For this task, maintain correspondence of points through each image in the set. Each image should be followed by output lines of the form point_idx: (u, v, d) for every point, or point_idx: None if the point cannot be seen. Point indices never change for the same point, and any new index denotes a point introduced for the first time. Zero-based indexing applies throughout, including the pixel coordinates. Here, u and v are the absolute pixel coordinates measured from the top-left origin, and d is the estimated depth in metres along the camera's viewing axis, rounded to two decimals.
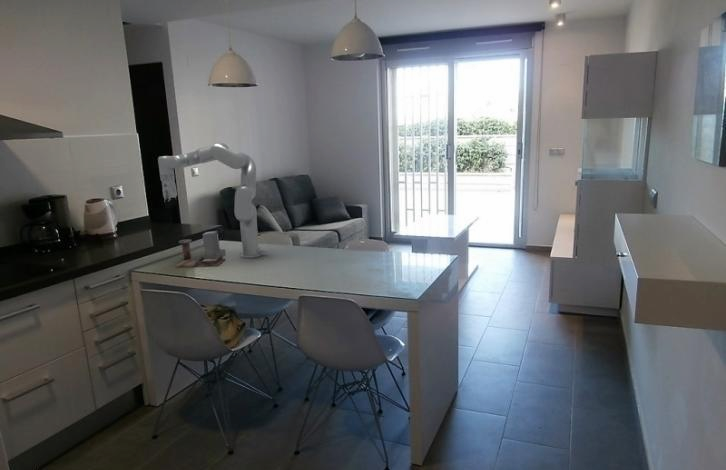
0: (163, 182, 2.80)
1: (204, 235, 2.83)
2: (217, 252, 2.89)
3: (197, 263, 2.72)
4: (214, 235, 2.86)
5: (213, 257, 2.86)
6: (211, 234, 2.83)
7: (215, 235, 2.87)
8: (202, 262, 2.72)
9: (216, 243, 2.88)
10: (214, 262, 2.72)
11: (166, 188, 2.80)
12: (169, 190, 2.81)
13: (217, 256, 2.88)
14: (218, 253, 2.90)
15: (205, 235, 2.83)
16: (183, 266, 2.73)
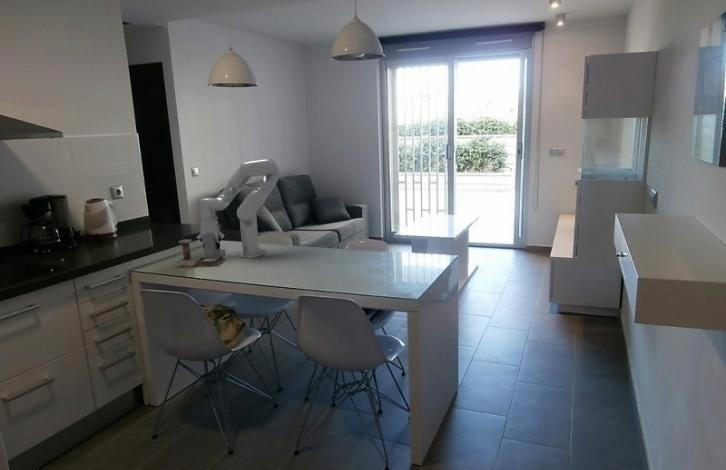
0: (215, 222, 2.85)
1: (204, 235, 2.83)
2: (217, 252, 2.89)
3: (197, 263, 2.72)
4: None
5: (213, 257, 2.86)
6: (211, 234, 2.83)
7: None
8: (202, 262, 2.72)
9: None
10: (214, 262, 2.72)
11: (218, 228, 2.87)
12: None
13: (217, 256, 2.88)
14: (218, 253, 2.90)
15: (205, 235, 2.83)
16: (183, 266, 2.73)
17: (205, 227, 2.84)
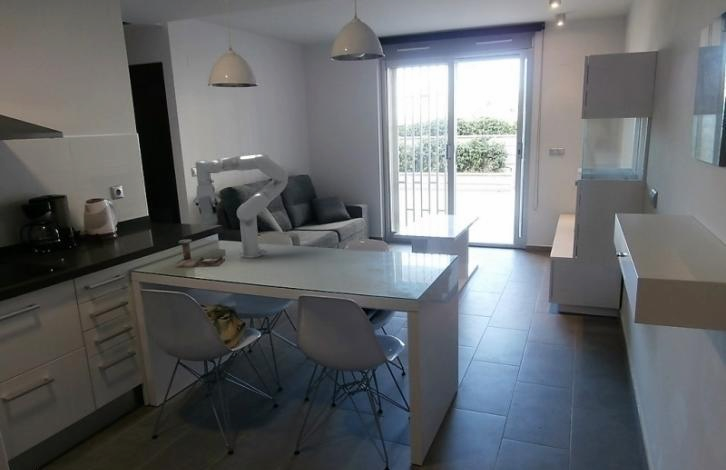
0: (212, 186, 2.80)
1: (201, 199, 2.79)
2: (214, 216, 2.84)
3: (197, 263, 2.72)
4: (210, 199, 2.81)
5: (210, 221, 2.81)
6: (207, 198, 2.79)
7: None
8: (202, 262, 2.72)
9: None
10: (214, 262, 2.72)
11: (214, 192, 2.82)
12: (215, 193, 2.84)
13: (214, 220, 2.83)
14: (215, 218, 2.85)
15: (201, 199, 2.79)
16: (183, 266, 2.73)
17: (201, 190, 2.80)
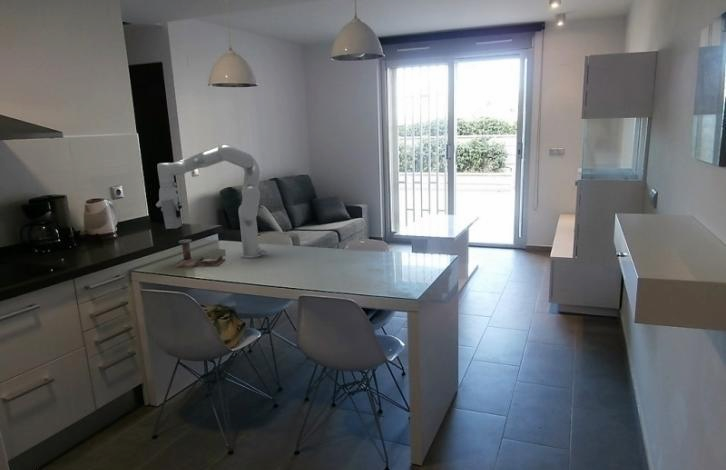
0: (174, 189, 2.70)
1: (163, 202, 2.69)
2: (178, 220, 2.74)
3: (197, 263, 2.72)
4: None
5: (173, 225, 2.71)
6: (170, 201, 2.69)
7: None
8: (202, 262, 2.72)
9: None
10: (214, 262, 2.72)
11: (178, 195, 2.72)
12: None
13: (177, 224, 2.73)
14: (179, 222, 2.75)
15: (164, 202, 2.69)
16: (183, 266, 2.73)
17: (164, 194, 2.69)
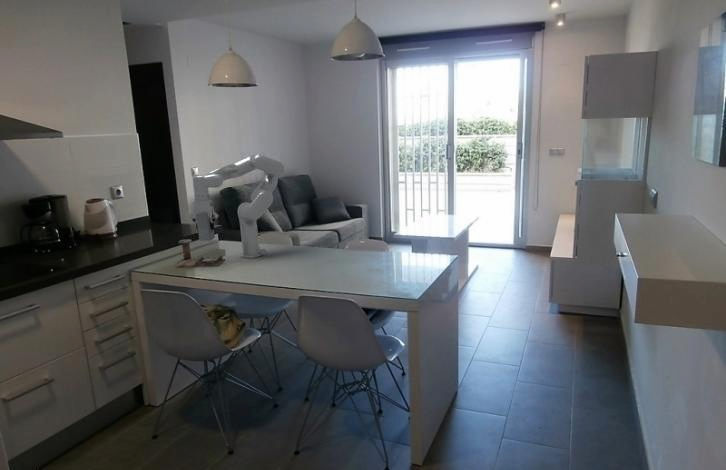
0: (209, 201, 2.70)
1: (198, 214, 2.69)
2: (211, 232, 2.74)
3: (197, 263, 2.72)
4: None
5: (207, 238, 2.71)
6: (205, 213, 2.69)
7: None
8: (202, 262, 2.72)
9: None
10: (214, 262, 2.72)
11: (212, 207, 2.72)
12: (213, 209, 2.74)
13: (211, 237, 2.73)
14: (212, 234, 2.75)
15: (198, 214, 2.69)
16: (183, 266, 2.73)
17: (198, 206, 2.69)
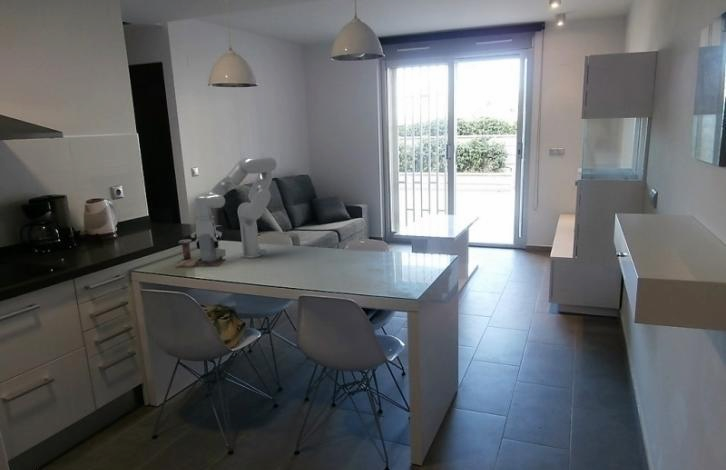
0: (212, 222, 2.72)
1: (200, 237, 2.71)
2: (214, 254, 2.77)
3: (197, 263, 2.72)
4: None
5: (209, 260, 2.74)
6: (207, 236, 2.71)
7: None
8: (202, 262, 2.72)
9: (212, 245, 2.76)
10: (214, 262, 2.72)
11: (214, 227, 2.74)
12: (215, 229, 2.76)
13: (213, 259, 2.75)
14: (214, 256, 2.78)
15: (201, 237, 2.71)
16: (183, 266, 2.73)
17: (201, 226, 2.71)
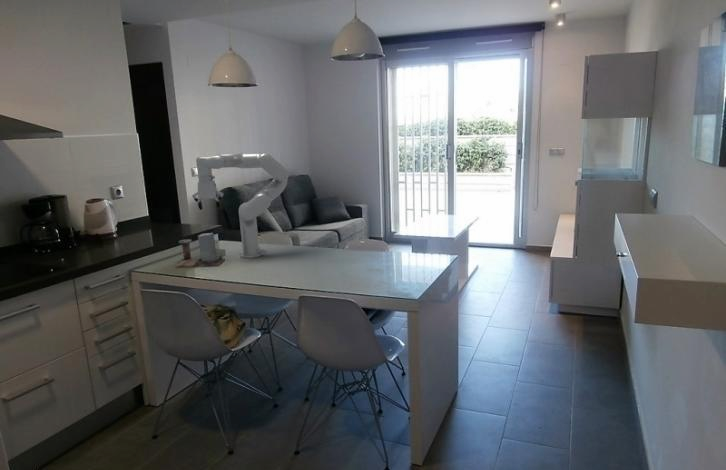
0: (213, 182, 2.77)
1: (200, 237, 2.71)
2: (214, 254, 2.77)
3: (197, 263, 2.72)
4: (210, 237, 2.74)
5: (209, 260, 2.74)
6: (207, 236, 2.71)
7: (211, 237, 2.75)
8: (202, 262, 2.72)
9: (212, 245, 2.76)
10: (214, 262, 2.72)
11: (216, 188, 2.79)
12: (216, 189, 2.81)
13: (213, 259, 2.75)
14: (214, 256, 2.78)
15: (201, 237, 2.71)
16: (183, 266, 2.73)
17: (203, 187, 2.76)
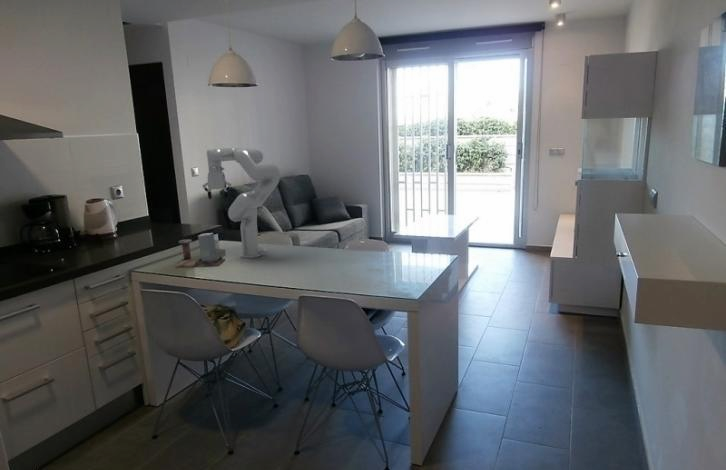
0: (222, 173, 2.94)
1: (200, 237, 2.71)
2: (214, 254, 2.77)
3: (197, 263, 2.72)
4: (210, 237, 2.74)
5: (209, 260, 2.74)
6: (207, 236, 2.71)
7: (211, 237, 2.75)
8: (202, 262, 2.72)
9: (212, 245, 2.76)
10: (214, 262, 2.72)
11: (224, 179, 2.96)
12: (225, 180, 2.97)
13: (213, 259, 2.75)
14: (214, 256, 2.78)
15: (201, 237, 2.71)
16: (183, 266, 2.73)
17: (212, 177, 2.93)
